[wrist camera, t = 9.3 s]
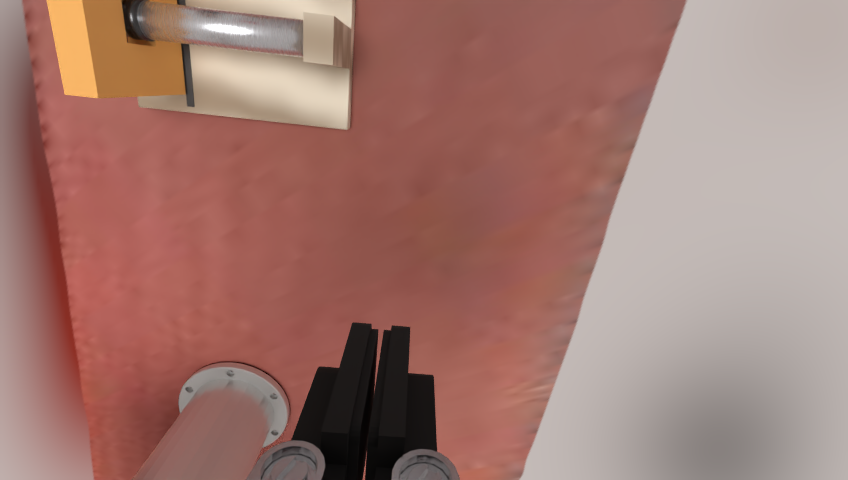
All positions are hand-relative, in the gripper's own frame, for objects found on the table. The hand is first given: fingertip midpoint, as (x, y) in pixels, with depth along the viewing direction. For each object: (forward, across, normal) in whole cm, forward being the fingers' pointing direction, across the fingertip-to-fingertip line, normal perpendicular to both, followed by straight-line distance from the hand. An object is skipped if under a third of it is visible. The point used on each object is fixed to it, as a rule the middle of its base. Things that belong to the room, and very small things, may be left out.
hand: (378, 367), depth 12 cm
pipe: (+23, +15, -10) cm, 29 cm away
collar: (+27, +20, -10) cm, 35 cm away
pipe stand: (+29, +15, -10) cm, 34 cm away
